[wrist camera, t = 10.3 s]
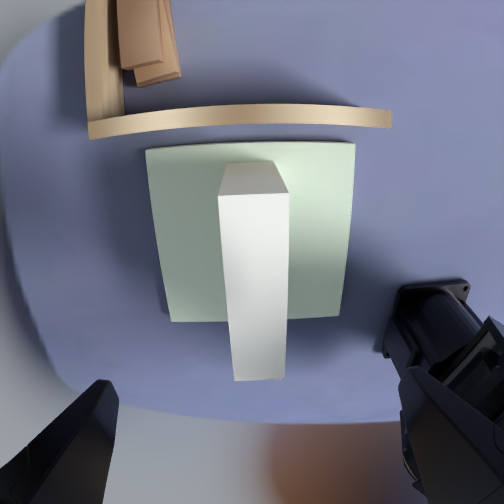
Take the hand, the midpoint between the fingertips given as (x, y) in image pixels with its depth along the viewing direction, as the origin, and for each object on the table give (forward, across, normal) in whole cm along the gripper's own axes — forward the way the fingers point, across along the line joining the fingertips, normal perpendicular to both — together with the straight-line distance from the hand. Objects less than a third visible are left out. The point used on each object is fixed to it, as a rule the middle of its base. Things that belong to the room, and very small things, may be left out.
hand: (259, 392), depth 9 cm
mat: (+11, 0, 0) cm, 11 cm away
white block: (+10, 0, 0) cm, 11 cm away
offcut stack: (+12, +5, -13) cm, 18 cm away
